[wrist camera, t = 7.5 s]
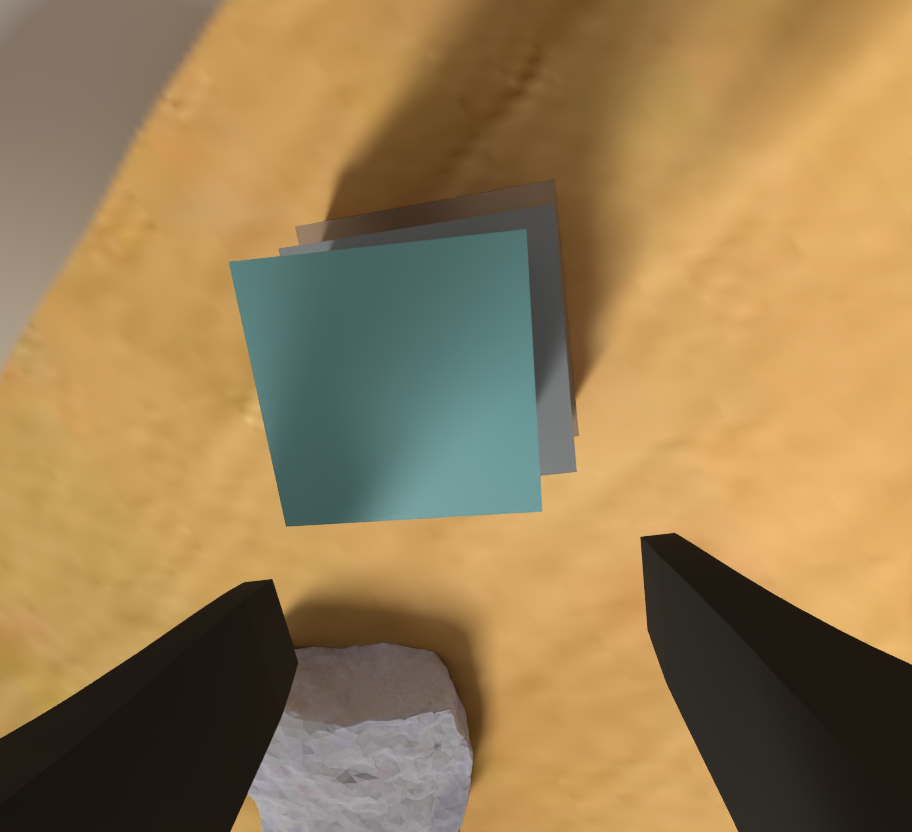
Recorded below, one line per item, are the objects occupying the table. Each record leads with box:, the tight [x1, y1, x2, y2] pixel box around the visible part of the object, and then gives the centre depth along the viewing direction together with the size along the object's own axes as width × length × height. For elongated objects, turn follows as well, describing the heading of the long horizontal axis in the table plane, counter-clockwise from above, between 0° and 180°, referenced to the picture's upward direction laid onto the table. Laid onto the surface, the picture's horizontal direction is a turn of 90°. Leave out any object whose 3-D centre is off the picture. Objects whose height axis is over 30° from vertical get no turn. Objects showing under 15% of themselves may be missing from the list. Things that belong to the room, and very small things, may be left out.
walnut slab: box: [295, 180, 579, 436], centre depth 17 cm, size 8×8×3 cm
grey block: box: [279, 204, 577, 476], centre depth 15 cm, size 7×7×3 cm
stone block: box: [248, 643, 473, 832], centre depth 23 cm, size 12×5×10 cm
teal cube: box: [229, 229, 542, 527], centre depth 11 cm, size 5×5×5 cm
